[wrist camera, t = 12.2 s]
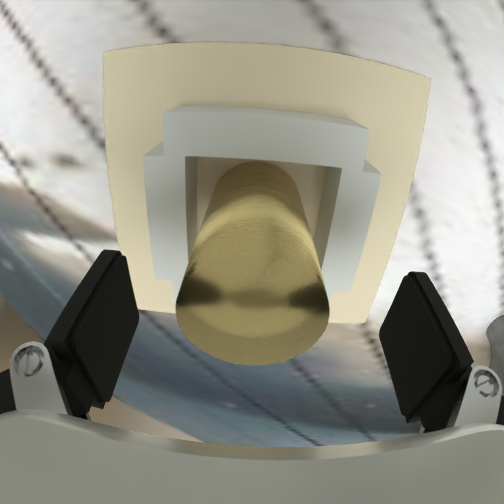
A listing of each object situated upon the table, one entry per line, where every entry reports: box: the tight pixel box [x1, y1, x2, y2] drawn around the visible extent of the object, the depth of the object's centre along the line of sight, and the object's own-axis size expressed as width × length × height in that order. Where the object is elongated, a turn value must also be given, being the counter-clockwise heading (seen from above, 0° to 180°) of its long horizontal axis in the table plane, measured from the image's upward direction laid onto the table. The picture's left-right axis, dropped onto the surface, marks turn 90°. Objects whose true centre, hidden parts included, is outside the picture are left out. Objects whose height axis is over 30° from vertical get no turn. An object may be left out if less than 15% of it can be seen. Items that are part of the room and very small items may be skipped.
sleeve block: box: [103, 42, 431, 323], centre depth 17 cm, size 18×18×4 cm
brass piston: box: [175, 162, 330, 365], centre depth 14 cm, size 5×5×9 cm
